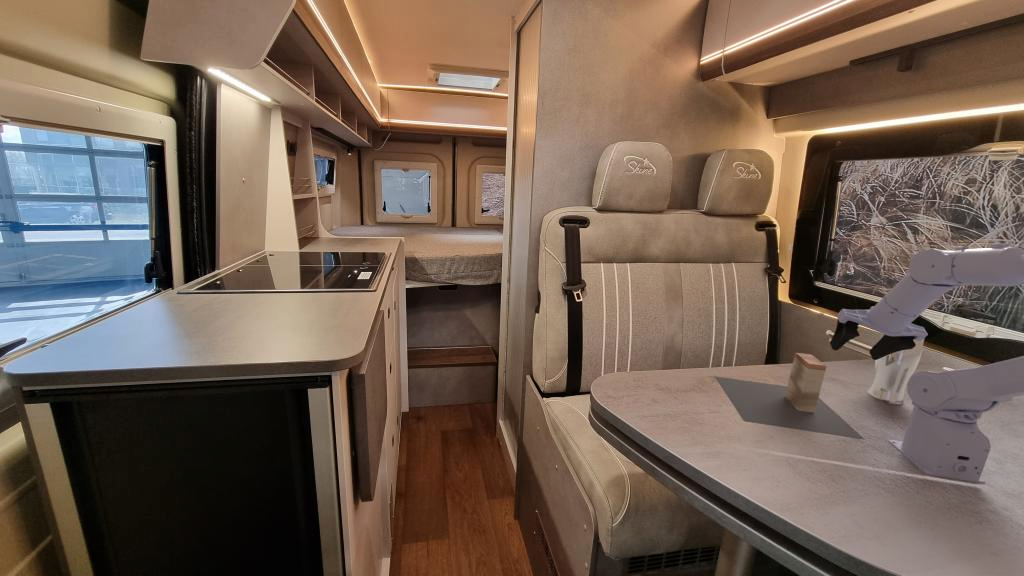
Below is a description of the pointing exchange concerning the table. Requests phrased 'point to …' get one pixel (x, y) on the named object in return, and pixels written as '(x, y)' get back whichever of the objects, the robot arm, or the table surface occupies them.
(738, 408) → the rubber mat
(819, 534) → the table surface
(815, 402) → the birch block
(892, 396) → the beer glass
